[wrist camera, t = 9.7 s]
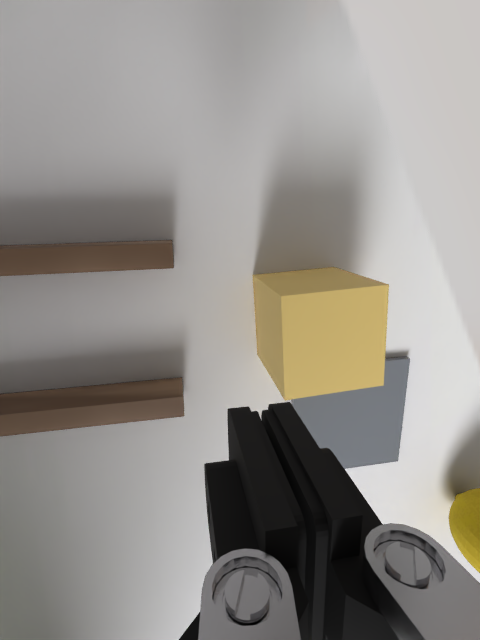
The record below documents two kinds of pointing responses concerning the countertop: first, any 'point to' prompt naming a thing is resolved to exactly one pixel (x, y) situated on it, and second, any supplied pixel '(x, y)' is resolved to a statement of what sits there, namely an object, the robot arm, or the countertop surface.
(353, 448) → the slate coaster
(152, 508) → the countertop surface
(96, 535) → the countertop surface
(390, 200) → the countertop surface
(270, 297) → the ochre block
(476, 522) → the lemon
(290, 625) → the robot arm
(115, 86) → the countertop surface
